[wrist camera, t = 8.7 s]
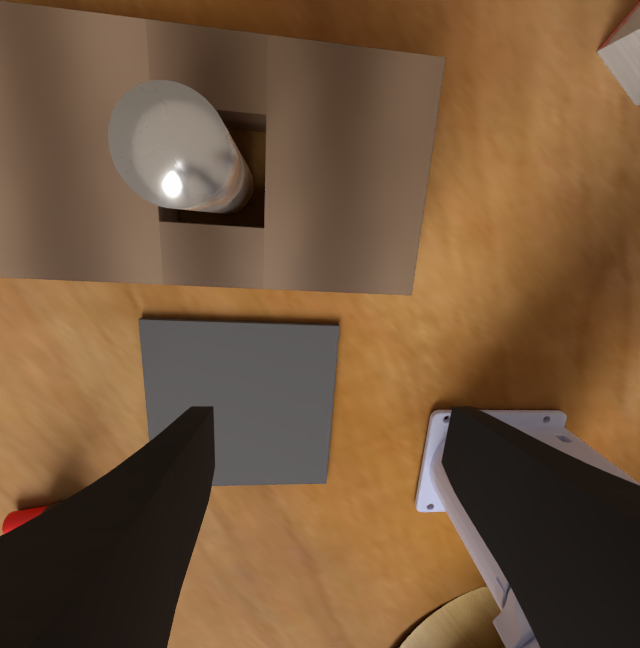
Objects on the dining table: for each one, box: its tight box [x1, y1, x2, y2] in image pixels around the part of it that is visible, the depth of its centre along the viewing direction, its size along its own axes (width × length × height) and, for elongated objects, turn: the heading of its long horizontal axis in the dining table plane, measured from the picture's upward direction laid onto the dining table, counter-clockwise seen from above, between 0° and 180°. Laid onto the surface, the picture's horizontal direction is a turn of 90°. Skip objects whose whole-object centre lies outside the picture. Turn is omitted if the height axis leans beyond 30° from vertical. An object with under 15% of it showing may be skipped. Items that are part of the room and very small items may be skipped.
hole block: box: [0, 0, 446, 295], centre depth 16 cm, size 19×10×3 cm, turn 86°
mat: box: [139, 318, 340, 486], centre depth 21 cm, size 11×11×1 cm
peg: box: [108, 80, 253, 214], centre depth 13 cm, size 3×3×9 cm
